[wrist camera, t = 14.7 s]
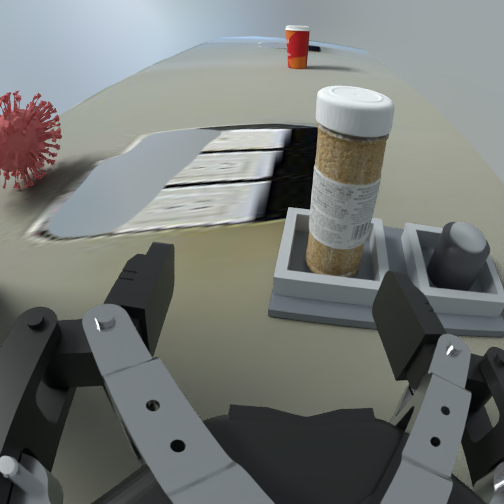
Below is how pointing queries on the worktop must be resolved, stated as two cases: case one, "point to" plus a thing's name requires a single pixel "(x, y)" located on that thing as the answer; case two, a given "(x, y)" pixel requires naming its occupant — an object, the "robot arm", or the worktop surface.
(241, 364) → the worktop surface
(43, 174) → the virus model
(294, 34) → the paper cup
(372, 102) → the sprinkles bottle
